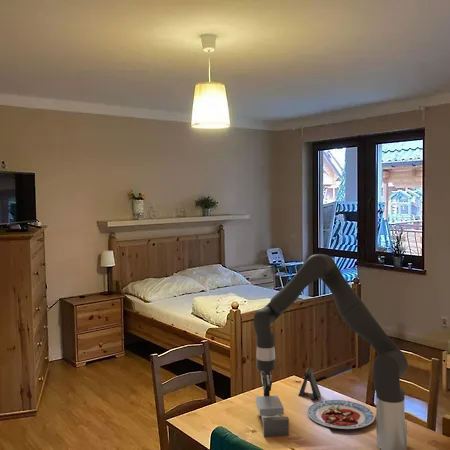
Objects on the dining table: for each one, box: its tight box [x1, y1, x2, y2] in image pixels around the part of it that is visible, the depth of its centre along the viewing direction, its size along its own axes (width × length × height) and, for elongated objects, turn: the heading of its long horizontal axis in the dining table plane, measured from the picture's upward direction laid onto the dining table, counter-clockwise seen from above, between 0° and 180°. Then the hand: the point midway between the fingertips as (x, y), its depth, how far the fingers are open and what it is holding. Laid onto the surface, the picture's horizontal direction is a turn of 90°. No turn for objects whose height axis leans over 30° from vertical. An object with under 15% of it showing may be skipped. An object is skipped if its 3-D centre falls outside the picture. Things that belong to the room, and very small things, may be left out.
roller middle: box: [260, 415, 281, 424], centre depth 190 cm, size 7×4×4 cm, turn 95°
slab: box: [255, 395, 285, 417], centre depth 193 cm, size 9×12×2 cm
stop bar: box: [262, 416, 290, 438], centre depth 180 cm, size 9×2×7 cm, turn 94°
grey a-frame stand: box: [298, 367, 322, 401], centre depth 216 cm, size 9×6×12 cm, turn 70°
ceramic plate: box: [306, 399, 376, 430], centre depth 195 cm, size 26×26×3 cm
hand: (266, 399), depth 201 cm, fingers closed
